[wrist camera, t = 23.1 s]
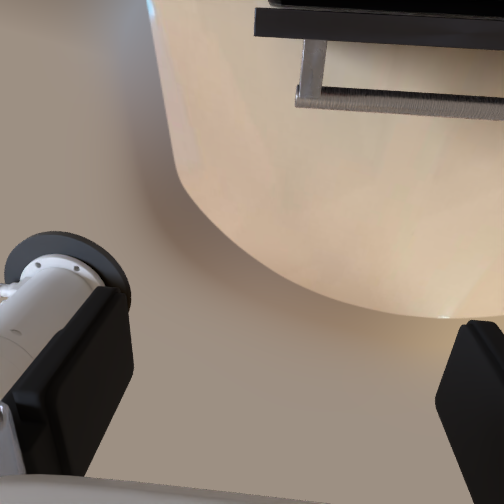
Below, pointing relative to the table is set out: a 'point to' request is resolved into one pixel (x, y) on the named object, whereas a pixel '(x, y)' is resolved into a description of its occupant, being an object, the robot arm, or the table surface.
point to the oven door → (384, 32)
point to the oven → (407, 6)
